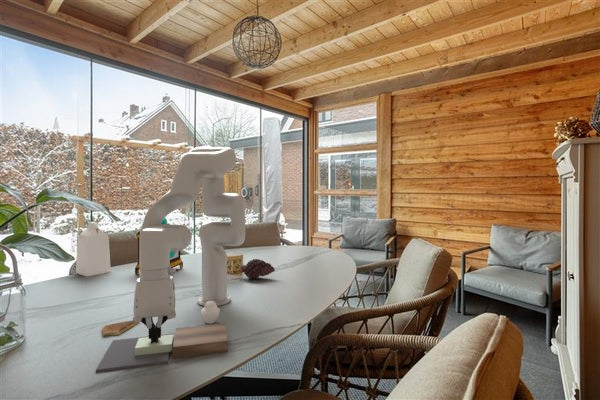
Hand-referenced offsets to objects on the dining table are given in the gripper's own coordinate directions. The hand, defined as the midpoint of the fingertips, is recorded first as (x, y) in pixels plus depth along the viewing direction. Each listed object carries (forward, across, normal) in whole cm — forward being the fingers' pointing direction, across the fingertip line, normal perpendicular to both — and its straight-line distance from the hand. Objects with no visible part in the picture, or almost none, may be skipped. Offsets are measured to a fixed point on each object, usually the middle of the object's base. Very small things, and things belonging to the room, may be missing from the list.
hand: (154, 340), depth 89 cm
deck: (+3, -12, 0) cm, 12 cm away
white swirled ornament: (+3, -15, -16) cm, 22 cm away
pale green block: (+1, 0, 0) cm, 1 cm away
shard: (+3, +13, -18) cm, 23 cm away
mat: (+3, +4, 0) cm, 5 cm away
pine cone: (+3, -38, -64) cm, 74 cm away
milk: (+3, +42, -97) cm, 105 cm away
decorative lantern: (+3, +9, -91) cm, 91 cm away
